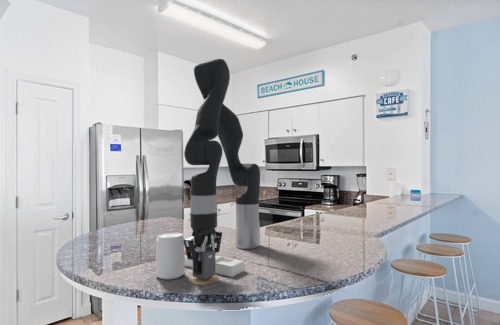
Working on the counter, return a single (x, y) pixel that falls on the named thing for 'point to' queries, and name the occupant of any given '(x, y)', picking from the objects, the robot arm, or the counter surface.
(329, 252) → the counter surface
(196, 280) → the coaster
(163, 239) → the beverage can
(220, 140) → the robot arm
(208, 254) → the block
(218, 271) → the power strip
